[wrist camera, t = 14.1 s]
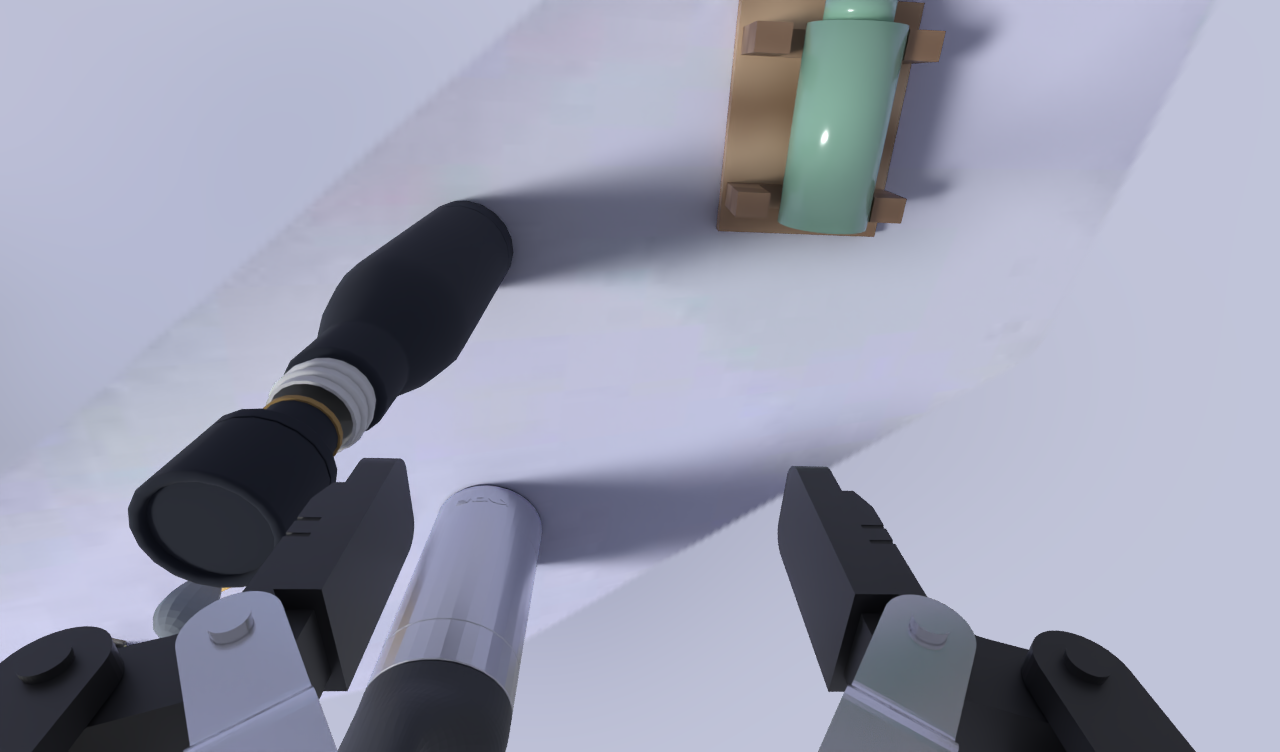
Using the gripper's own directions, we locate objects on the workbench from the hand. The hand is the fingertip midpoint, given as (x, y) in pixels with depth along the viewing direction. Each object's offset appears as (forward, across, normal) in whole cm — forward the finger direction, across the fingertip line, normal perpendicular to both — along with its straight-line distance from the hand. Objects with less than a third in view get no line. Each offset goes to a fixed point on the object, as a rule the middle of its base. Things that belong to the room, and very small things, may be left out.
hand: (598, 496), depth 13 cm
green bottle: (+31, -13, -9) cm, 34 cm away
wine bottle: (+32, +10, +3) cm, 34 cm away
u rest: (+32, -13, -6) cm, 35 cm away
